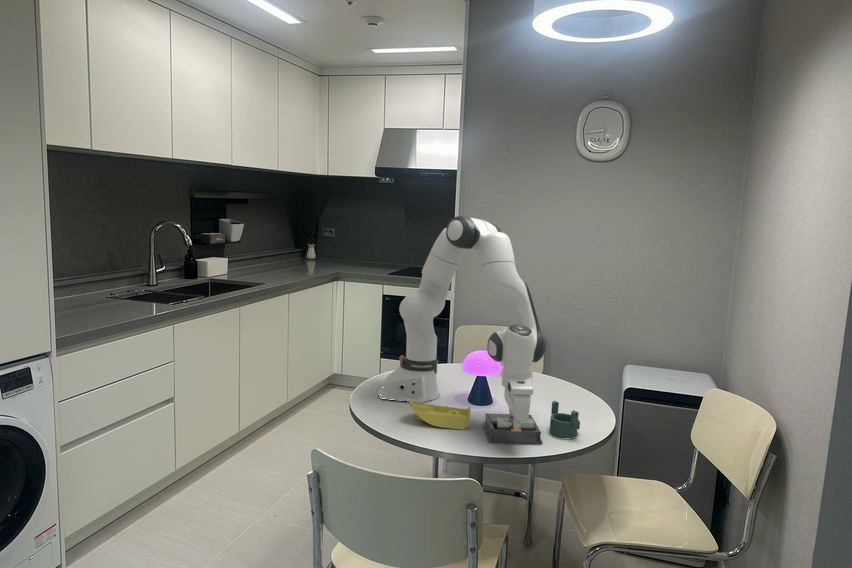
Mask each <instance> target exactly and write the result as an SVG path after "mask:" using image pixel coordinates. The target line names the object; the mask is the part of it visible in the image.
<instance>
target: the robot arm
mask: <svg viewBox="0 0 852 568" xmlns="http://www.w3.org/2000/svg"><path fill="white" fill-rule="evenodd" d="M468 251H469V252H473V253H474V252H475V253H478V256H479V261H480V273H481V274H480V275H481V278H482V283H483V284H484V286H485V287H486V288H487V289H488V290H490V292H491V293H494V294H496V295H499V296H502V297H504V298H507V299H508V300H509V301H511V302H512V303H514V304H515V306H516V308H517V310H518V313H519V317H520V321H521V324H512V325H511V324H510V325H509V326H507V328H506V329H505V330H499V331H495V332H493V333H492V334H491V335H490V336H489V337H488V339H487V354H488V356H489V357H490V358H491V359H492V360H493V361H495V362H496V363H502V364H503V366H502V374H501V375H502V377H501V378H502V379H501V385H502V386H503V388H504V395H503V396H504V401H505V402H506V404H507V407H508V412H509V413H508V414H510V415H509V418H514V421H513V428H514V429H519V427H520V422H521V421H527V419H528V416H529V415H530V409H531V401H532V400H531V398H532V397H531V396H533V395H534V387H533V372H534V371H533V366H532V365H533V363H538V362H539V361H540V360H541V359H542V358H543V357H544V356H545V354H546V352H547V343H546V342H547V341H546V339H545V336H544V334H543V332H542V329H541V327H540V323H539V319H538V315H537V311H536V308H535V305H534V301H533V297H532V294H531V291H530V288H529V285H528V284H527V282H526V281H524V280H522V278H521V277H520V274H519V273H518V271H517V268H516V267H517V266H516V261H515V253H514V249H513V244H512V242H511V239H510V237H509V236H508V234H506V233H505V232H502V230H501V228H500V227H498V226H497V225H496V224H494V223H493V222H489V221H486V220H484V219H481V218H475V217H474V218H473V217H469V216H467V215H457V216H454V217H453V218H452V219H450V220H449V221H448V224H447V225H446V227H445V228H443V229H442V230H441V232H440V234H439V235H438V236H437V238H436V239H435V242H434V243H433V246H432V247H431V250H430V252H429V254H428V256H427V257H426V260H425V263H424V265H423V268H422V269H421V274H422V275H421V281H420V284H419V287H418V289H417V290H416V291H415V292H411V293H409V294H408V295H406V296H405V297H404V299H402V301H400V304H399V308H398V309H399V311H398V312H399V314H400V316H401V318H402V320H403V323H404V327H405V334H406V348H405V349H406V350H405V355H403V354H402V355H400V356H399V361H400V364H399V367H398V368H395V370H393V371H392V372H390V373H388V375H387V376H386V378H385V380H384V384H383V386H384V388H381V387H380V388H381V389H380V388H379V389H378V391H377V395H378V394H379V396H380V397H381V398H386V399H394V400H401V401H407V402H406V403H410V402H409V400H411V401H412V402H415V403H420V404H425V403H426V402H430V401H434V400H436V399H438V398H439V397H440V393H439V389H438V382H437V373H438V365H439V364H438V363H439V361H438V358H437V351H438V349H437V348H438V347H437V346H438V336H437V334H436V333H435V327H434V318H435V317H438V316H439V315H440V314H441V313H442V311H443V310H444V308H445V305H446V300H447V296H448V292H449V289H450V285H451V283H452V281H453V278H454V276H455V274H456V271H457V269H458V267H459V265H460V263H461V261H462V258H463V256H464V255H465V253H466V252H468ZM380 394H381V395H382V396H381V395H380Z"/></svg>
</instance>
